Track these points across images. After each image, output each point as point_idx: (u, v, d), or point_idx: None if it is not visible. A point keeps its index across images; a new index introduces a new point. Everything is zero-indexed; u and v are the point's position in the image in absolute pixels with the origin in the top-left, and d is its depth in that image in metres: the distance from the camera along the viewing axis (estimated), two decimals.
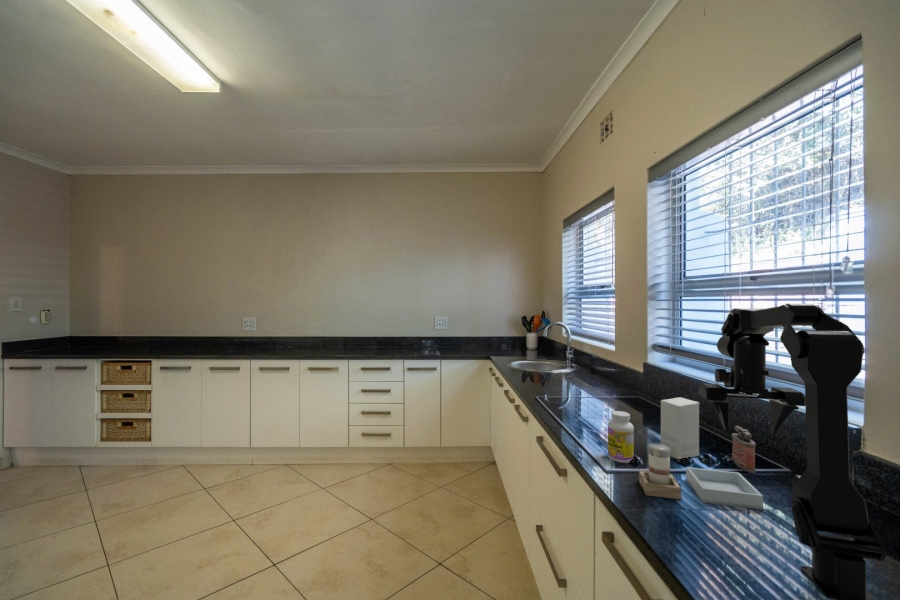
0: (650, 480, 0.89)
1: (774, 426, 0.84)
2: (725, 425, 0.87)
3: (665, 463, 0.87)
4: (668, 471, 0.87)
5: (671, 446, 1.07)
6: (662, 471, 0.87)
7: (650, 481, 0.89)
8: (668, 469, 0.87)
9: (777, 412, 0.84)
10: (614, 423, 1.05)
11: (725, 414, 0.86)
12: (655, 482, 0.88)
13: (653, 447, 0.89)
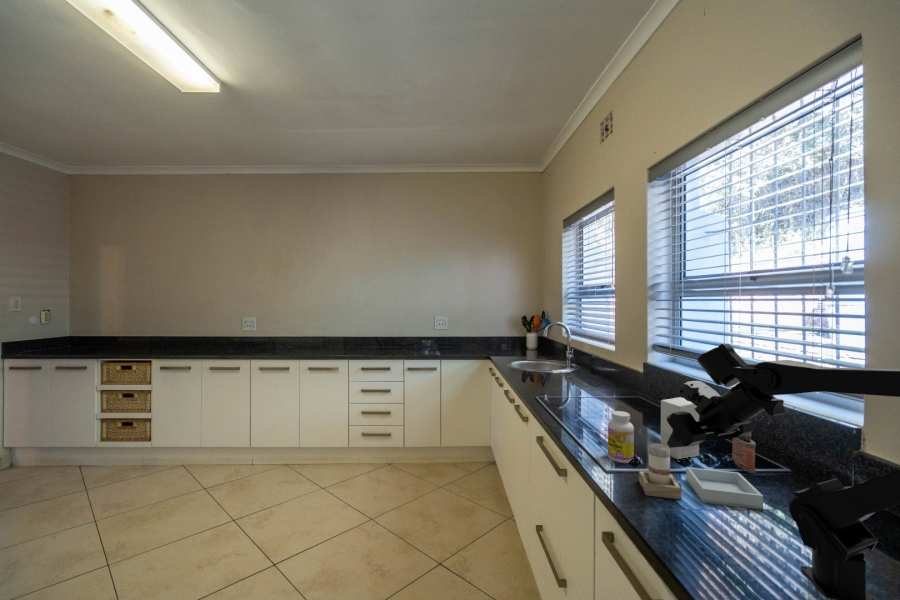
0: (650, 480, 0.89)
1: (707, 439, 0.83)
2: None
3: (665, 463, 0.87)
4: (668, 471, 0.87)
5: None
6: (662, 471, 0.87)
7: (650, 481, 0.89)
8: (668, 469, 0.87)
9: None
10: (614, 423, 1.05)
11: (684, 446, 0.77)
12: (655, 482, 0.88)
13: (653, 447, 0.89)
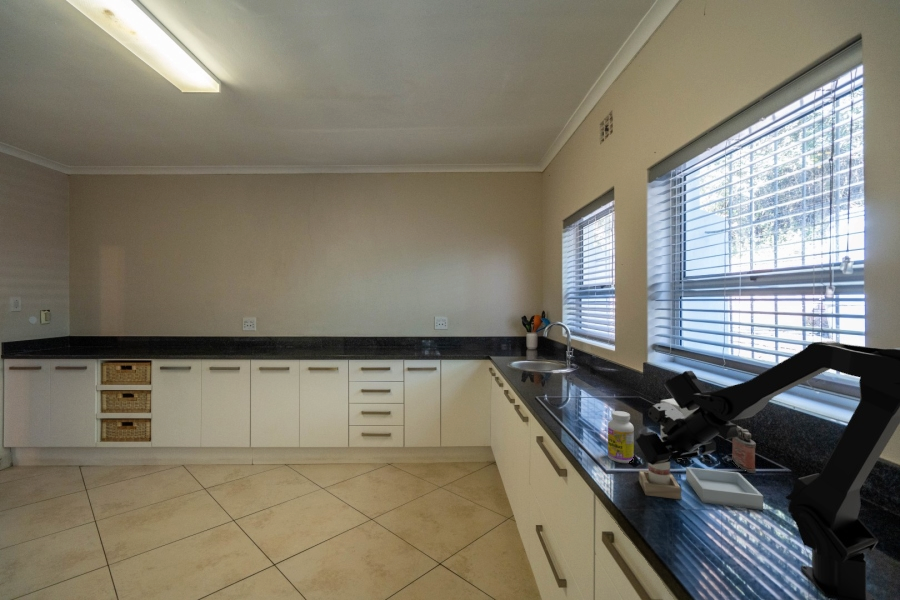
0: (650, 480, 0.89)
1: None
2: None
3: (665, 463, 0.87)
4: (668, 471, 0.87)
5: None
6: (662, 471, 0.87)
7: (650, 481, 0.89)
8: (668, 469, 0.87)
9: (678, 452, 0.87)
10: (614, 423, 1.05)
11: None
12: (655, 482, 0.88)
13: None
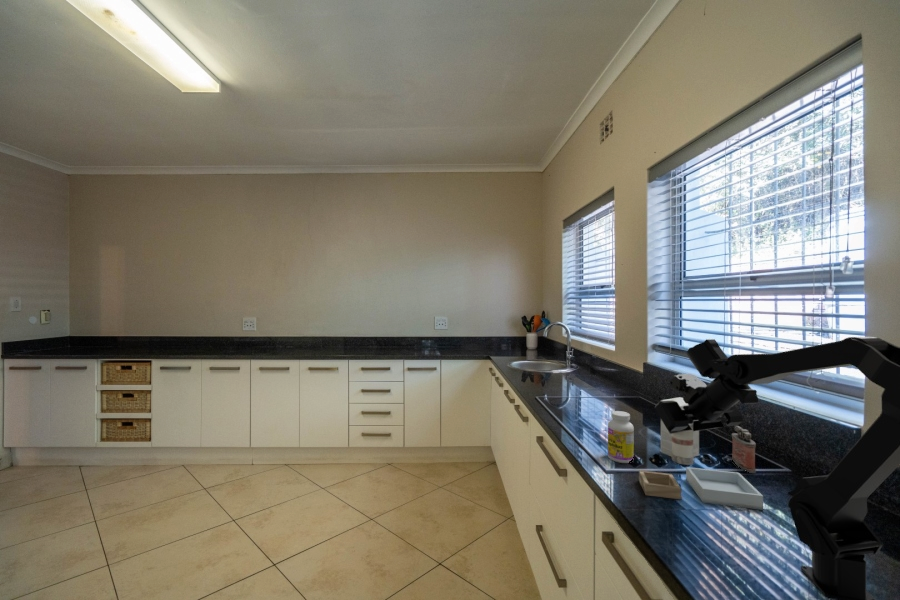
0: (673, 451, 0.89)
1: None
2: None
3: (687, 433, 0.87)
4: (691, 442, 0.87)
5: (671, 445, 1.07)
6: (684, 441, 0.87)
7: (673, 452, 0.89)
8: (691, 440, 0.87)
9: (702, 423, 0.87)
10: (614, 423, 1.05)
11: (681, 431, 0.86)
12: (677, 452, 0.88)
13: None
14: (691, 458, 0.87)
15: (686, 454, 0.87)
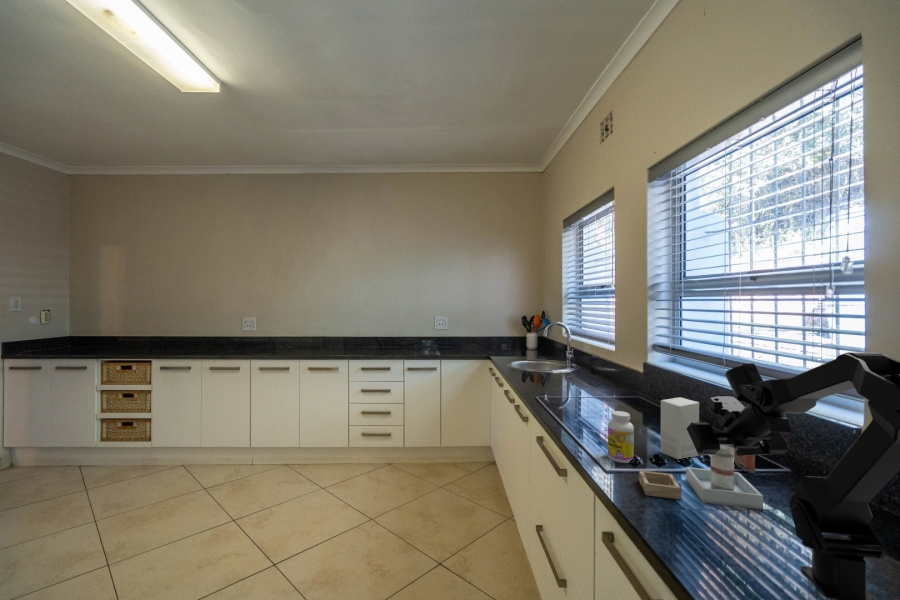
0: (711, 479, 0.88)
1: (743, 454, 0.87)
2: (700, 455, 0.87)
3: (726, 463, 0.85)
4: (730, 472, 0.85)
5: (671, 445, 1.07)
6: (723, 471, 0.86)
7: (711, 480, 0.88)
8: (730, 470, 0.85)
9: (753, 448, 0.84)
10: (614, 423, 1.05)
11: (706, 454, 0.85)
12: (715, 481, 0.87)
13: None
14: (730, 489, 0.85)
15: (724, 484, 0.85)
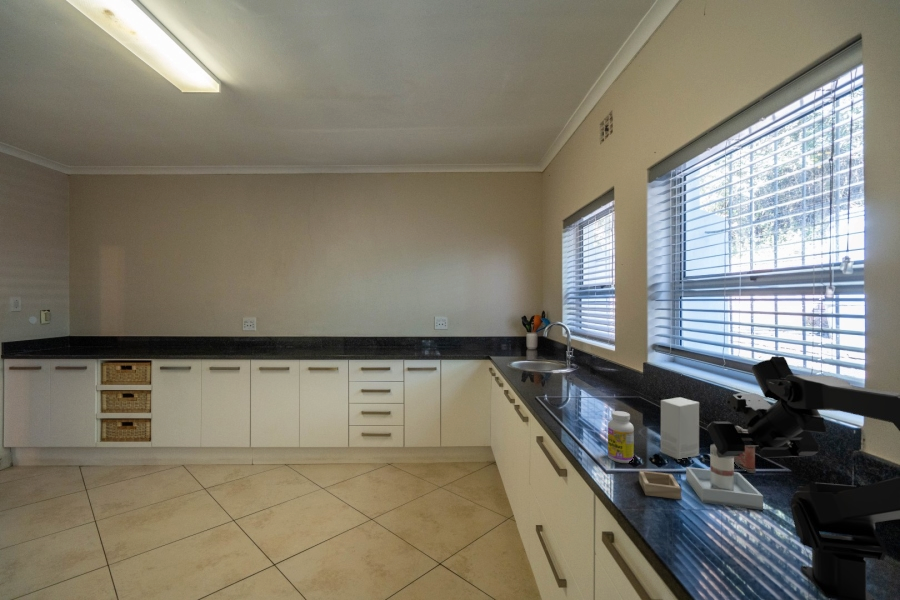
0: (711, 479, 0.88)
1: (767, 456, 0.80)
2: (721, 457, 0.80)
3: (726, 463, 0.85)
4: (730, 473, 0.85)
5: (671, 445, 1.07)
6: (722, 471, 0.86)
7: (711, 480, 0.88)
8: (730, 470, 0.85)
9: (779, 449, 0.78)
10: (614, 423, 1.05)
11: (728, 456, 0.78)
12: (715, 482, 0.87)
13: (715, 447, 0.88)
14: (730, 489, 0.85)
15: (724, 484, 0.85)
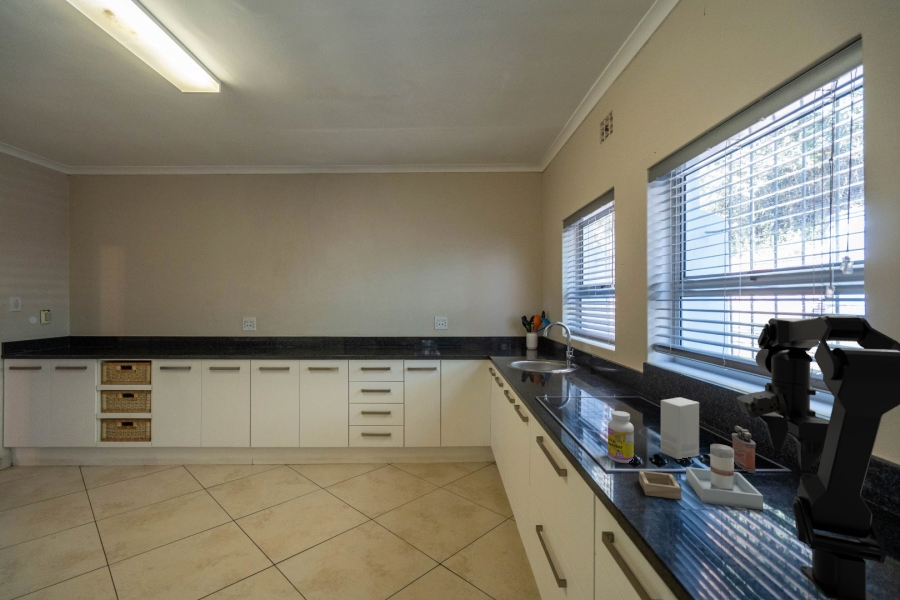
0: (711, 479, 0.88)
1: (782, 442, 0.79)
2: None
3: (726, 463, 0.85)
4: (730, 473, 0.85)
5: (671, 446, 1.07)
6: (722, 471, 0.86)
7: (711, 480, 0.88)
8: (730, 470, 0.85)
9: (781, 426, 0.80)
10: (614, 423, 1.05)
11: None
12: (715, 482, 0.87)
13: (714, 447, 0.88)
14: (730, 489, 0.85)
15: (724, 484, 0.85)
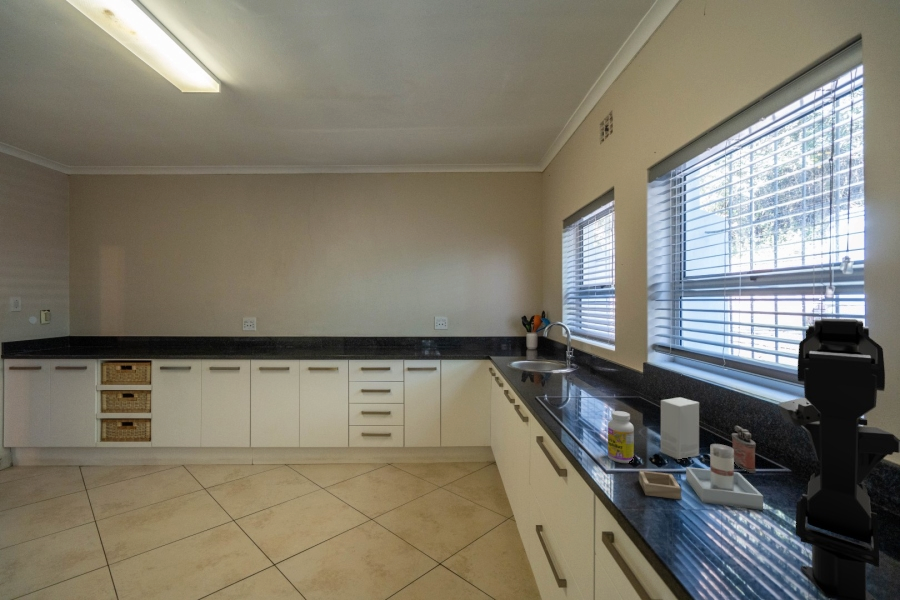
0: (711, 479, 0.88)
1: None
2: None
3: (726, 463, 0.85)
4: (730, 473, 0.85)
5: (671, 446, 1.07)
6: (722, 471, 0.86)
7: (711, 480, 0.88)
8: (730, 470, 0.85)
9: None
10: (614, 423, 1.05)
11: None
12: (715, 482, 0.87)
13: (714, 447, 0.88)
14: (730, 489, 0.85)
15: (724, 484, 0.85)
